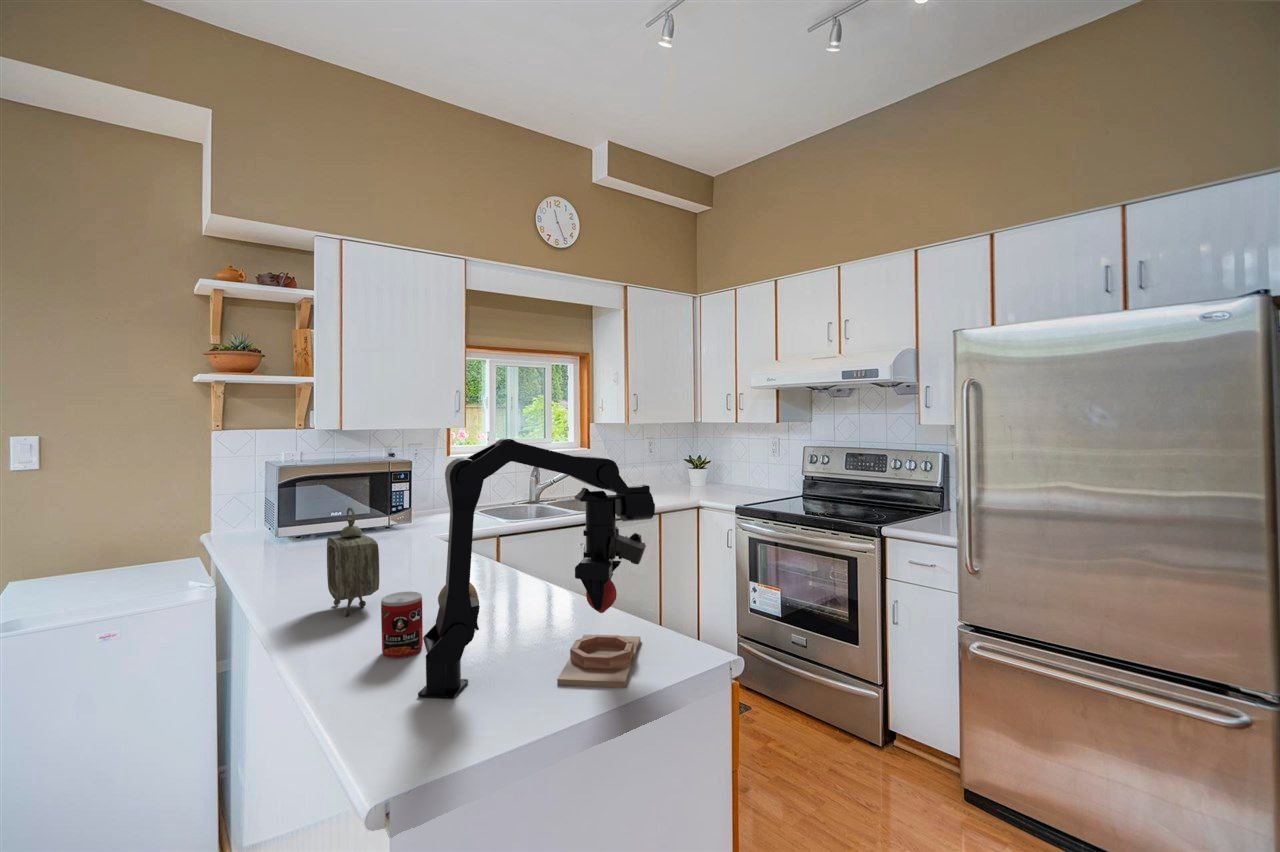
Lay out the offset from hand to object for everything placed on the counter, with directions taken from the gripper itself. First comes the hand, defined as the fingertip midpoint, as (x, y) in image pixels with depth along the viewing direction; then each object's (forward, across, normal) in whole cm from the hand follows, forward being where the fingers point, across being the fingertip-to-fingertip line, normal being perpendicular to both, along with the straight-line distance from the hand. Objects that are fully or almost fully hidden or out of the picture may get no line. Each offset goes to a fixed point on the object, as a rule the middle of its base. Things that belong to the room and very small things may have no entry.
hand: (601, 604), depth 118 cm
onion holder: (+11, 0, 0) cm, 11 cm away
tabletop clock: (+11, +26, +67) cm, 73 cm away
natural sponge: (+11, +19, +37) cm, 43 cm away
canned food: (+11, +1, +41) cm, 42 cm away
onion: (+2, 0, 0) cm, 2 cm away
